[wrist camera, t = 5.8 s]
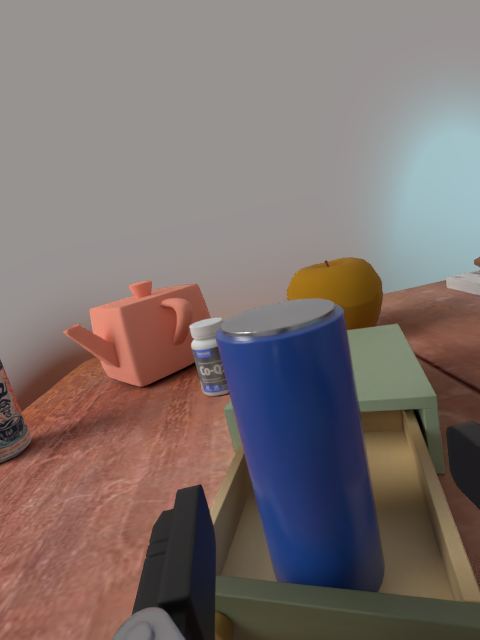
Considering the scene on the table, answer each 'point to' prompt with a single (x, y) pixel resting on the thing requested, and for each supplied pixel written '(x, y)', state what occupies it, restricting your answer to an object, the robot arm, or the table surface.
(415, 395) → the drawer unit
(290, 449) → the blue can
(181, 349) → the teapot
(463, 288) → the book
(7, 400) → the beer can
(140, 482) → the table surface
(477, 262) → the bowl
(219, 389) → the pill bottle
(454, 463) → the robot arm
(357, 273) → the apple
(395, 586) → the drawer
